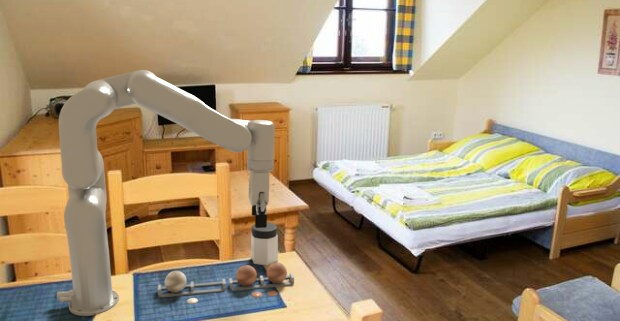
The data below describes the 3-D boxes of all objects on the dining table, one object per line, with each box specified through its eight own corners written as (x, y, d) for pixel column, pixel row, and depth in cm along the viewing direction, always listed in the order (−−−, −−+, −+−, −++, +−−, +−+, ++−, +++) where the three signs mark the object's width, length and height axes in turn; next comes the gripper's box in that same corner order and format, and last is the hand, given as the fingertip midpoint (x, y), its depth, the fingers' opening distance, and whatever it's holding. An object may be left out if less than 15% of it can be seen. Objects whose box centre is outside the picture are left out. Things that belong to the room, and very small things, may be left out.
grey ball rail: (157, 299, 141) (157, 291, 141) (158, 290, 146) (158, 282, 146) (294, 286, 150) (294, 279, 149) (291, 278, 155) (291, 271, 154)
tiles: (175, 308, 137) (175, 306, 137) (175, 300, 141) (175, 298, 141) (281, 297, 144) (281, 295, 143) (279, 290, 147) (279, 289, 147)
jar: (249, 256, 169) (249, 222, 166) (273, 253, 171) (273, 220, 168) (254, 268, 161) (254, 233, 158) (279, 265, 163) (280, 230, 160)
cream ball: (164, 297, 141) (163, 277, 140) (165, 287, 147) (164, 268, 146) (186, 295, 143) (185, 276, 141) (187, 285, 148) (186, 266, 147)
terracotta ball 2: (268, 287, 148) (268, 269, 146) (265, 278, 153) (265, 259, 152) (288, 286, 149) (288, 267, 147) (284, 276, 155) (285, 258, 153)
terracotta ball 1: (237, 290, 146) (236, 271, 144) (235, 280, 151) (235, 262, 150) (258, 288, 147) (257, 269, 146) (255, 279, 153) (255, 260, 151)
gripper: (244, 156, 151) (243, 211, 155) (249, 172, 135) (248, 233, 139) (269, 156, 153) (267, 210, 157) (277, 172, 136) (275, 232, 140)
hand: (258, 221), depth 148 cm, fingers open, 9 cm apart
